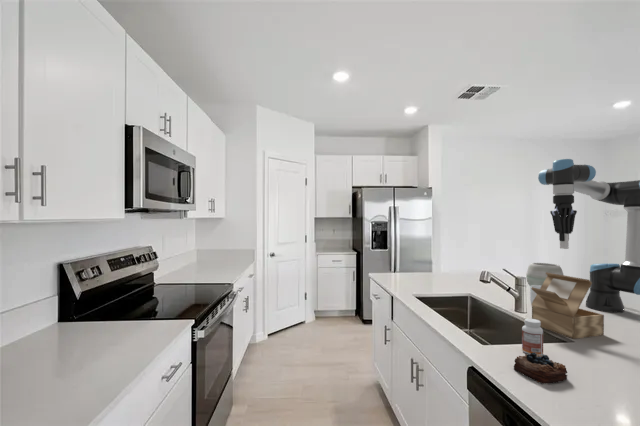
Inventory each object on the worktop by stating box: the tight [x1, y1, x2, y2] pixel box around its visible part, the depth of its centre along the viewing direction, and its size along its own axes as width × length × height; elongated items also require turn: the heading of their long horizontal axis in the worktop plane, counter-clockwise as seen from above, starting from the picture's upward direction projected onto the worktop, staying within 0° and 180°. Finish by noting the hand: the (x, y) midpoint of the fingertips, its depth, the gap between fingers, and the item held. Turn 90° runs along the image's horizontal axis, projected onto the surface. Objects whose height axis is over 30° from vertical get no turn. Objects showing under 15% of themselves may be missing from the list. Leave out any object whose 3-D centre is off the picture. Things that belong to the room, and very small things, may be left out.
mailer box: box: [531, 306, 605, 340], centre depth 139 cm, size 16×18×8 cm
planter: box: [525, 262, 564, 287], centre depth 172 cm, size 16×16×22 cm
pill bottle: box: [521, 318, 544, 356], centre depth 115 cm, size 6×6×11 cm
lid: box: [530, 272, 592, 317], centre depth 137 cm, size 16×18×9 cm
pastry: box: [513, 353, 568, 385], centre depth 99 cm, size 11×12×6 cm
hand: (564, 248), depth 147 cm, fingers closed
